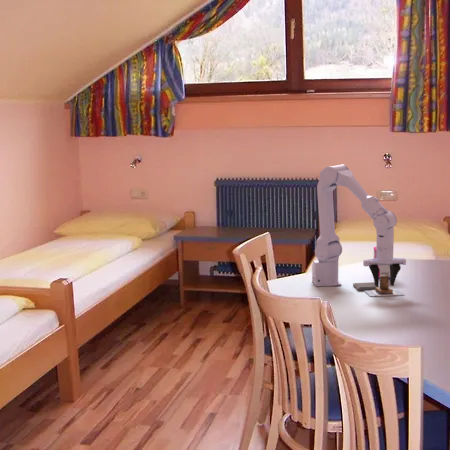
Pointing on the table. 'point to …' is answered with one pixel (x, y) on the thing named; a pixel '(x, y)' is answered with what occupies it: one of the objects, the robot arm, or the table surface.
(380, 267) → the supplement box
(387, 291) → the stamp
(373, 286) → the pad
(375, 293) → the print card
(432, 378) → the table surface
